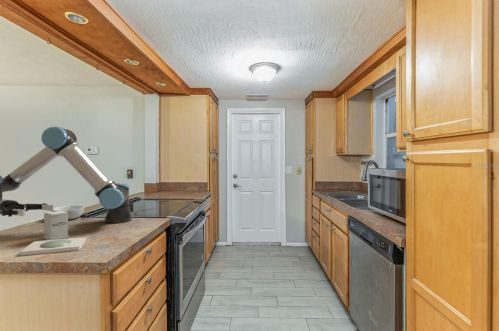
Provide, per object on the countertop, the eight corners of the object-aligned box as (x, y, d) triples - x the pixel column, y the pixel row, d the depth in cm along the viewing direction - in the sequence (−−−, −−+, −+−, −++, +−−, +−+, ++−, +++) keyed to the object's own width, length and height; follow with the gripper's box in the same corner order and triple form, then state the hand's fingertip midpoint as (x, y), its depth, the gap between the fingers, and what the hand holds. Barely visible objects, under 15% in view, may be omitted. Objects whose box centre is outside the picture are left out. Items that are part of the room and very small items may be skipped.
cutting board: (86, 240, 125) (86, 236, 124) (79, 250, 111) (79, 246, 111) (34, 244, 117) (34, 240, 117) (19, 255, 104) (19, 251, 104)
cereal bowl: (46, 219, 164) (46, 208, 164) (74, 215, 179) (74, 204, 179) (61, 223, 156) (61, 211, 156) (89, 217, 171) (89, 206, 171)
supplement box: (50, 241, 122) (50, 214, 122) (43, 239, 126) (43, 212, 126) (68, 237, 128) (68, 211, 128) (61, 235, 132) (61, 210, 132)
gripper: (31, 210, 146) (62, 213, 141) (-25, 220, 122) (10, 223, 117) (32, 196, 146) (62, 199, 141) (-25, 203, 122) (10, 206, 117)
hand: (39, 210), depth 129 cm, fingers open, 13 cm apart
